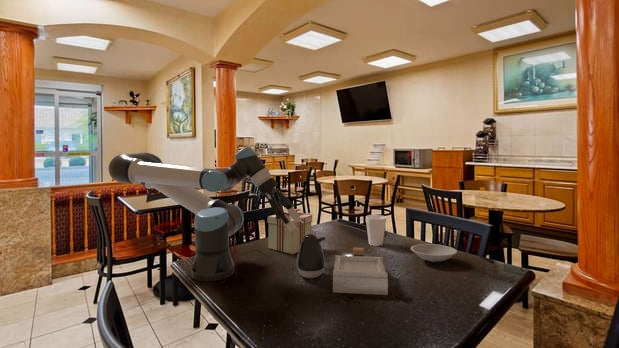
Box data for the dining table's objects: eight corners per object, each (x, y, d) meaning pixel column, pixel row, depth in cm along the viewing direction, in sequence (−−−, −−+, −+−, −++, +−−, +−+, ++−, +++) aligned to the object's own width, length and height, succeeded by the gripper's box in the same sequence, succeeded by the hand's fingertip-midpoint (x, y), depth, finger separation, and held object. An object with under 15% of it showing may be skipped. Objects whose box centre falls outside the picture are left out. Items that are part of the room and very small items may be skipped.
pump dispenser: (323, 282, 108) (322, 238, 106) (293, 280, 110) (293, 237, 109) (327, 271, 118) (327, 231, 116) (300, 269, 120) (299, 229, 119)
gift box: (300, 256, 134) (300, 216, 133) (266, 249, 143) (265, 212, 142) (319, 245, 149) (319, 209, 147) (287, 240, 158) (286, 206, 156)
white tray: (332, 292, 100) (332, 267, 100) (336, 265, 123) (336, 245, 122) (387, 295, 98) (388, 270, 98) (380, 267, 121) (380, 246, 120)
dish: (416, 268, 120) (416, 255, 119) (406, 255, 134) (406, 243, 134) (463, 268, 119) (464, 255, 119) (448, 255, 134) (448, 243, 133)
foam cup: (362, 242, 153) (362, 215, 152) (379, 240, 156) (379, 214, 155) (371, 248, 144) (371, 220, 143) (389, 245, 147) (389, 218, 146)
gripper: (263, 179, 112) (298, 228, 112) (279, 173, 137) (308, 213, 136) (247, 191, 113) (282, 239, 113) (265, 183, 138) (294, 223, 138)
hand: (296, 225), depth 125 cm, fingers open, 13 cm apart
